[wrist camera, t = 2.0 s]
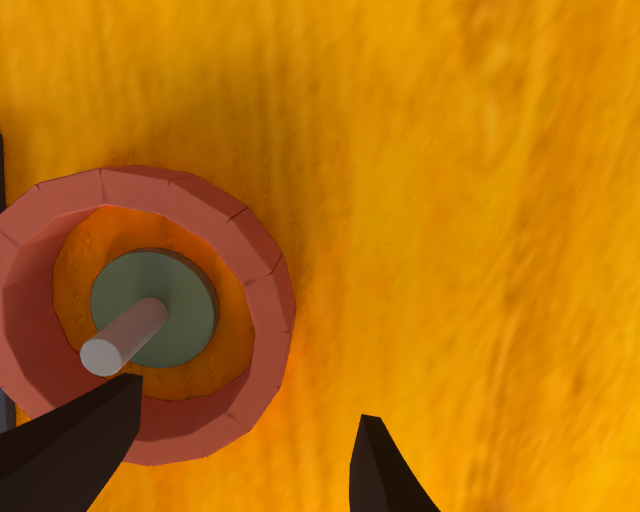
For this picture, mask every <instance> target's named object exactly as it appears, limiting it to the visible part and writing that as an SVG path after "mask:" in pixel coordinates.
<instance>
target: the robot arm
mask: <svg viewBox="0 0 640 512" xmlns="http://www.w3.org/2000/svg"><path fill="white" fill-rule="evenodd" d="M142 384H143V376H140V375H134V374H129V373H123V374H121V375H119V376H117V377H115V378H113V379H111V380H109V381H107V382H106V383H104V384H102V385H100V386H98V387H96V388H94V389H93V390H91V391H89V392H87V393H85V394H83V395H81V396H79V397H77V398H76V399H74V400H72V401H70V402H68V403H66V404H64V405H62V406H60V407H58V408H56V409H54V410H52V411H50V412H48V413H46V414H43V415H41V416H39V417H37V418H35V419H33V420H31V421H29V422H27V423H24V424H22V425H20V426H18V427H15V428H13V429H11V430H8V431H6V432H3V433H1V434H0V512H86V511H87V510H88V509H89V507H90V506H91V504H92V503H93V502H94V500H95V499H96V497H97V496H98V495H99V493H100V492H101V490H102V489H103V488H104V486H105V485H106V483H107V482H108V481H109V479H110V478H111V476H112V475H113V473H114V472H115V471H116V469H117V468H118V466H119V465H120V463H121V462H122V461H123V459H124V457H125V456H126V454H127V452H128V450H129V449H130V447H131V445H132V443H133V441H134V439H135V437H136V436H137V434H138V432H139V430H140V421H141V403H142ZM349 503H350V512H441V511H440V510H439V509H438V508H437V506H436V505H435V504H434V503H433V501H432V500H431V499H430V497H429V496H428V495H427V493H426V492H425V490H424V489H423V488H422V486H421V485H420V483H419V482H418V480H417V479H416V477H415V476H414V474H413V473H412V471H411V470H410V468H409V466H408V465H407V463H406V461H405V460H404V458H403V457H402V455H401V453H400V452H399V450H398V448H397V446H396V445H395V443H394V441H393V439H392V437H391V436H390V434H389V432H388V430H387V428H386V426H385V424H384V423H383V421H382V419H381V418H380V417H375V416H370V415H364V414H362V415H361V419H360V423H359V428H358V432H357V436H356V440H355V445H354V449H353V453H352V458H351V462H350V475H349Z"/></svg>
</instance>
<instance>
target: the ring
mask: <svg viewBox="0 0 640 512" xmlns="http://www.w3.org/2000/svg"><path fill="white" fill-rule="evenodd" d="M106 205H110V206H115V207H121V208H127V209H132V210H138V211H144V212H150V213H155V214H161V215H163V216H164V217H166V218H168V219H169V220H171V221H173V222H174V223H176V224H178V225H179V226H181V227H183V228H184V229H186V230H188V231H189V232H191V233H193V234H194V235H196V236H198V237H199V238H201V239H203V240H204V241H206V242H208V243H209V244H210V245H211V246H212V248H213V249H214V250H215V251H216V253H217V254H218V255H219V256H220V258H221V259H222V260H223V261H224V263H225V264H226V265H227V267H228V268H229V269H230V270H231V272H232V273H233V274H234V275H235V277H236V278H237V279H238V280H239V282H240V283H241V284H242V286H243V290H244V293H245V296H246V300H247V303H248V307H249V310H250V313H251V317H252V320H253V324H254V327H255V330H256V333H255V340H254V348H253V355H252V360H251V361H250V363H249V365H248V366H247V368H246V369H245V371H244V372H243V374H242V375H241V376H239V377H238V378H236V379H235V380H233V381H231V382H230V383H228V384H227V385H225V386H224V387H222V388H220V389H219V390H217V391H216V392H214V393H213V394H211V395H208V396H203V397H197V398H192V399H186V400H181V401H175V402H172V401H166V400H160V399H154V398H148V397H143V396H142V403H141V421H140V430H139V432H138V434H137V436H136V437H135V439H134V441H133V443H132V445H131V447H130V449H129V450H128V452H127V454H126V456H125V457H124V459H123V461H122V462H127V463H133V464H139V465H145V466H151V464H152V466H157V465H163V464H169V463H175V462H181V461H187V460H194V459H200V458H203V457H204V456H205V457H208V456H209V455H211V454H213V453H214V452H216V451H218V450H219V449H221V448H223V447H224V446H226V445H228V444H229V443H231V442H233V441H234V440H236V439H238V438H239V437H241V436H243V435H244V434H246V433H248V432H249V431H250V430H251V429H252V428H253V427H254V425H255V424H256V422H257V421H258V419H259V418H260V416H261V415H262V414H263V412H264V411H265V409H266V408H267V406H268V405H269V404H270V402H271V401H272V399H273V398H274V396H275V395H276V393H277V392H278V391H279V389H280V386H281V384H282V379H283V375H284V371H285V367H286V363H287V358H288V354H289V349H290V343H291V337H292V331H293V325H294V319H295V312H296V306H295V305H296V301H295V297H294V293H293V290H292V286H291V282H290V278H289V274H288V270H287V267H286V263H285V259H284V256H283V255H282V254H281V253H282V251H281V250H280V248H279V247H278V246H277V244H276V243H275V242H274V240H273V239H272V238H271V236H270V235H269V234H268V232H267V231H266V230H265V228H264V227H263V226H262V224H261V223H260V222H259V220H258V219H257V218H256V216H255V215H254V214H253V212H252V211H251V210H250V209H249V208H247V206H246V205H245V204H243V203H242V202H240V201H238V200H237V199H235V198H233V197H232V196H230V195H229V194H227V193H225V192H224V191H222V190H221V189H219V188H217V187H216V186H214V185H212V184H211V183H209V182H208V181H206V180H204V179H203V178H201V177H200V176H196V175H195V174H190V173H184V172H178V171H173V170H167V169H161V168H155V167H150V166H144V165H129V166H117V167H104V168H96V169H92V170H88V171H84V172H80V173H76V174H72V175H68V176H64V177H60V178H55V179H51V180H47V181H43V182H40V183H38V184H35V185H34V186H33V187H31V188H30V189H29V190H28V191H27V192H26V193H24V194H23V195H22V196H21V197H20V198H19V199H17V200H16V201H15V202H14V203H13V204H12V205H10V206H9V207H8V208H7V209H6V210H5V211H3V212H2V213H1V214H0V387H2V386H3V387H2V390H3V391H4V392H5V393H6V394H7V395H8V396H9V397H10V398H11V399H12V400H13V401H14V402H15V403H16V404H17V405H18V406H19V407H20V408H21V409H22V410H23V411H24V412H25V413H26V414H27V415H28V416H29V417H30V418H31V419H32V420H33V419H35V418H37V417H39V416H41V415H43V414H46V413H48V412H50V411H52V410H54V409H56V408H58V407H60V406H62V405H64V404H66V403H68V402H70V401H72V400H74V399H76V398H77V397H79V396H81V395H83V394H85V393H87V392H89V391H91V390H93V389H94V388H96V387H98V386H100V385H102V384H104V383H106V382H107V380H105V379H103V378H102V377H100V376H98V375H95V374H93V373H92V372H90V371H89V370H87V369H86V367H85V366H84V365H83V363H82V361H81V358H80V357H79V356H78V355H77V353H76V352H75V351H74V350H73V349H72V348H71V347H70V346H69V343H68V341H67V339H66V336H65V334H64V332H63V329H62V327H61V325H60V322H59V320H58V318H57V316H56V313H55V311H54V309H53V295H52V267H53V265H54V263H55V261H56V258H57V256H58V254H59V252H60V250H61V247H62V245H63V243H64V241H65V239H66V236H67V234H68V232H69V231H70V230H72V229H73V228H74V227H75V226H77V225H78V224H79V223H80V222H82V221H83V220H84V219H85V218H87V217H88V216H89V215H90V214H91V213H93V212H94V211H95V210H96V209H98V208H99V207H101V206H106ZM246 208H247V209H246Z"/></svg>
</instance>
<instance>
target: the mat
mask: <svg viewBox="0 0 640 512" xmlns="http://www.w3.org/2000/svg"><path fill="white" fill-rule="evenodd" d="M3 211H5V196H4V174H3V153H2V135H1V134H0V214H1V213H2V212H3ZM2 387H3V386H2ZM2 387H0V434H1V433H3V432H6V431H8V430H11V429H13V428H15V410H14V401H13V400H12V399H11V398H10V397H9V396H8V395H7V394H6V393H5V392H4V391H3V390H2Z"/></svg>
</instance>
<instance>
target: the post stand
mask: <svg viewBox="0 0 640 512" xmlns="http://www.w3.org/2000/svg"><path fill="white" fill-rule="evenodd" d="M90 309H91V314H92V318H93V321H94V324H95V326H96V328H97V331H98V333H96V334H95V335H94V336H93V337H91V338H90V339H89V340H87V341H86V342H85V343H84V344H83V346H82V348H81V351H80V358H81V361H82V363H83V365H84V366H85V367H86V369H87V370H89V371H90V372H92V373H93V374H95V375H99V376H110V375H113V374H115V373H116V372H118V371H119V370H120V369H121V368H122V367H123V366H124V365H125V364H126V363H127V362H128V361H131V362H133V363H135V364H138V365H141V366H145V367H151V368H169V367H175V366H179V365H181V364H184V363H186V362H188V361H190V360H192V359H193V358H195V357H196V356H197V355H198V354H199V353H200V352H201V351H202V350H203V349H204V348H205V346H206V345H207V344H208V342H209V341H210V339H211V338H212V336H213V334H214V332H215V330H216V327H217V323H218V318H219V306H218V300H217V296H216V293H215V290H214V287H213V286H212V284H211V282H210V280H209V279H208V277H207V276H206V274H205V273H204V272H203V271H202V270H201V269H200V268H199V267H198V266H197V265H196V264H195V263H194V262H192V261H191V260H189V259H188V258H186V257H184V256H182V255H180V254H179V253H176V252H173V251H170V250H166V249H162V248H141V249H136V250H133V251H130V252H128V253H125V254H123V255H121V256H119V257H117V258H115V259H114V260H112V261H111V262H109V263H108V264H107V265H106V266H105V267H104V268H103V269H102V270H101V272H100V273H99V274H98V276H97V278H96V279H95V282H94V284H93V287H92V291H91V297H90Z"/></svg>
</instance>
